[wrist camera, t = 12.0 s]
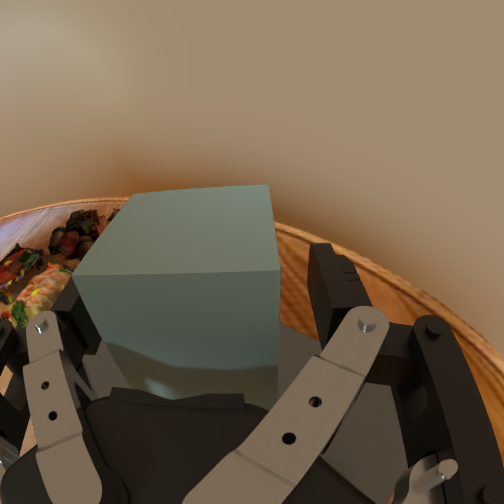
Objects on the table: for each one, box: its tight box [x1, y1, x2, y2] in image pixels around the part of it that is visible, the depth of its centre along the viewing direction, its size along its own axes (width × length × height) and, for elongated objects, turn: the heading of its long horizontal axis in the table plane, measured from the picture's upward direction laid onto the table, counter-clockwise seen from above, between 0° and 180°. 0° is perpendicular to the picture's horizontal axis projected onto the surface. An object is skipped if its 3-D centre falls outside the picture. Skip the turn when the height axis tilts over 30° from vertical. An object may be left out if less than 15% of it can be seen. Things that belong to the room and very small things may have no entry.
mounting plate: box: [83, 322, 408, 504], centre depth 14 cm, size 20×14×4 cm
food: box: [0, 208, 121, 329], centre depth 29 cm, size 22×19×4 cm
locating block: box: [71, 185, 281, 411], centre depth 11 cm, size 5×5×11 cm
